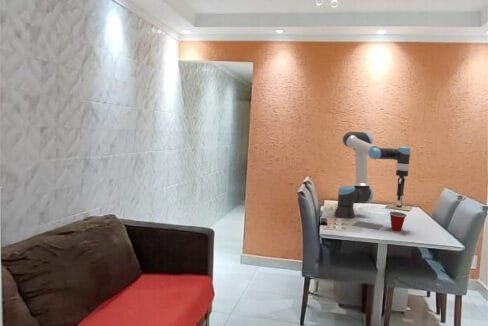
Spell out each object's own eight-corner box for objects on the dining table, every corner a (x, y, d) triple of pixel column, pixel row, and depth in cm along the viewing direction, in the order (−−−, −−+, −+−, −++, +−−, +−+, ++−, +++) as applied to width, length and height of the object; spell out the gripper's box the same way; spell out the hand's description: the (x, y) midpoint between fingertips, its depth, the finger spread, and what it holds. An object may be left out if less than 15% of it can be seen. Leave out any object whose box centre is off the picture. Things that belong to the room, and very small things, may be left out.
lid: (389, 205, 292) (390, 190, 291) (412, 208, 284) (413, 193, 284) (385, 208, 278) (386, 193, 278) (409, 211, 271) (410, 196, 270)
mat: (357, 221, 304) (357, 220, 304) (383, 225, 296) (383, 225, 296) (351, 226, 288) (351, 225, 288) (378, 230, 280) (378, 230, 280)
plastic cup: (393, 233, 277) (395, 215, 275) (384, 228, 287) (386, 211, 286) (408, 233, 279) (410, 215, 278) (399, 228, 289) (401, 211, 288)
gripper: (398, 168, 288) (395, 202, 290) (394, 170, 274) (391, 205, 276) (410, 169, 284) (406, 204, 287) (406, 171, 270) (403, 207, 272)
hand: (399, 204), depth 281 cm, fingers closed on lid, 3 cm apart
